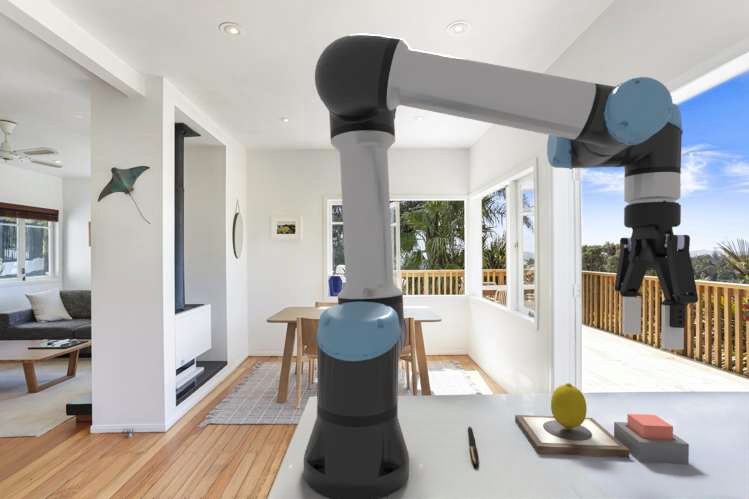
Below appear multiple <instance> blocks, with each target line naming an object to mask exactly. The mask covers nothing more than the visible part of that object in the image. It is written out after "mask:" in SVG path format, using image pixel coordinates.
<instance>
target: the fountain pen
mask: <svg viewBox="0 0 749 499" xmlns="http://www.w3.org/2000/svg"><path fill="white" fill-rule="evenodd" d="M467 434H468V435H467V436H468V445H469V455H470V460H471V463H472V466H473V467H474V468H475V469H477V468H478V467H479V464H480V463H479V454H478V451H479V450H478V448H477V444H476V440H475V439H476V438H475V435H474V431H473V428H472V426H471V425H469V426H467Z"/></svg>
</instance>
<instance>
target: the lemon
mask: <svg viewBox="0 0 749 499" xmlns="http://www.w3.org/2000/svg"><path fill="white" fill-rule="evenodd" d="M585 398H586V397H585V396H584V394H583V393H582V391H581V390H580V389H579V388H577V387H576V386H574V385H572V384H571V382H570V383H568V382H567V383H564V384H561V385H559V386H558V387H556V388H555V389H554V391H553V392H552V395H551V399H550V410H551V413H552V414H551V415H552V416H554V418H555V419H556V421H557V422H558V423H559V424H561V425H563V426H564V427H565V428H566V429H567V430H571V429H572V428H574V427H578V426H580V425H581V424H582V423H583V422H584V420H585V418H587V411H588V409H587V403H586V399H585Z"/></svg>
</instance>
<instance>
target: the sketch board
mask: <svg viewBox="0 0 749 499" xmlns="http://www.w3.org/2000/svg"><path fill="white" fill-rule="evenodd" d="M514 417H515V418H514V422H515V423H516V424H517V426H518V427H519V429H520V431H521V432H522V433H523V435H524V436H525V438H526V439H527V440H528V442H529V443H530V445H531V446H532V448H533V449H534V451H535V452H536V453H537V454H539V455H560V456H580V457H581V456H583V457H605V458H606V457H607V458H608V457H609V458H626V459H627V458H628V459H629V458H630V453H629V449H628V448H626V447H625V446H624V445H623V444H622V443H621V442H619V441H618V440H617V439H616V438H615V437H614V435H613V434H611V433H610V432H609V431H608V430H606V428H605V427H603V426H602V425H601V424H600V423H599V422H598V421H596V419H594V418H593V417H585V420H584V422H583V423H582V424H581V425H580V426H578V427H574V428H572V429H571V430H567V429H566V428H565V427H564V426H563V425H561V424H559V423H558V422H557V421H556V419H555V418H554V416H553V415H552V416H551V415H547V416H546V415H525V414H524V415H522V414H515V416H514Z"/></svg>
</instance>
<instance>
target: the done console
mask: <svg viewBox="0 0 749 499" xmlns="http://www.w3.org/2000/svg"><path fill="white" fill-rule="evenodd" d="M627 422H628V421H626V422H624V421H623V422H622V421H614V422H613V423H614V424H613V436H614V437H615V438H616V439H617V440H618V441H619V442H621V443H622V444H623V445H624V446H625V447H626V448H628V449H629V455H631V456H632V457H633V458H635V459H636V460H637V461H638V462H639V463H658V464H659V463H660V464H661V463H665V464H685V465H686V464H687V465H688V464H689V463H690V462H689V459H690V458H689V454H690V448H689V447H690V446H689V445H690V444H689V443H688V442H686V440H684V439H683V438H680V437H679V436H677V435H676V434H674V433H673V440H656V439H642V438H641V437H640V436H638V435H637V434H636V433H634V432H633V431H632V430H630V429H629V428H628V427H627Z"/></svg>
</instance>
